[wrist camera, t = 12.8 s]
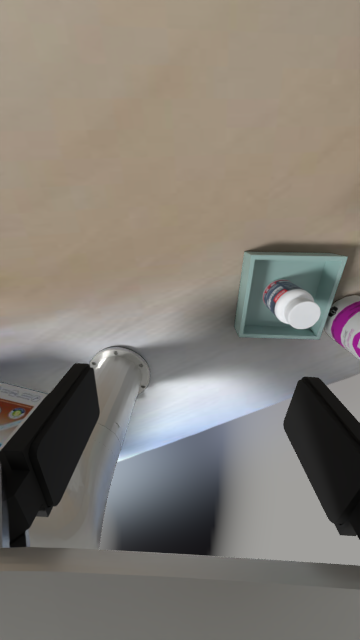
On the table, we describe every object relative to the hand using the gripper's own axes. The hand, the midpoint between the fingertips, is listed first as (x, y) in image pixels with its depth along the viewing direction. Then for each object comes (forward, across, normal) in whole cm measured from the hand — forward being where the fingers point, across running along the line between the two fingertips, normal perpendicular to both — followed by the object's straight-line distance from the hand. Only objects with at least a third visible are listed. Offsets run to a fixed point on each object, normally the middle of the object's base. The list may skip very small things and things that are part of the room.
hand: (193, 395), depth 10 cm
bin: (+27, -16, +2) cm, 31 cm away
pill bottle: (+26, -15, +2) cm, 31 cm away
